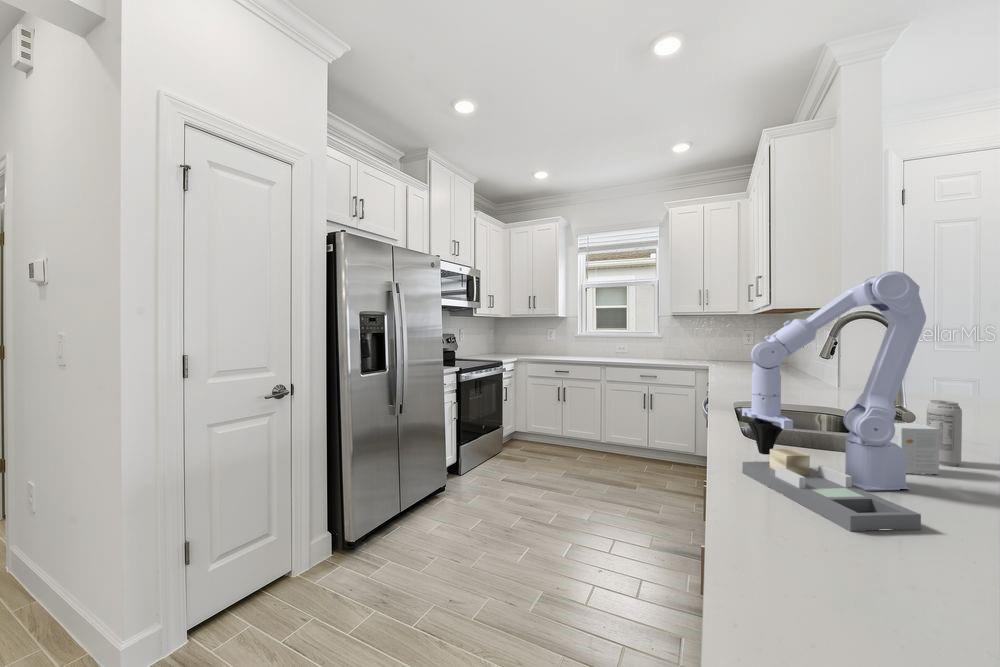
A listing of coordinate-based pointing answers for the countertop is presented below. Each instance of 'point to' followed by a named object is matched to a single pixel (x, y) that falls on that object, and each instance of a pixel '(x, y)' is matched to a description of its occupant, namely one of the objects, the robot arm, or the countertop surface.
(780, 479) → the grey long flat tray
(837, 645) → the countertop surface
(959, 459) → the energy drink can
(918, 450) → the small box
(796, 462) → the block
